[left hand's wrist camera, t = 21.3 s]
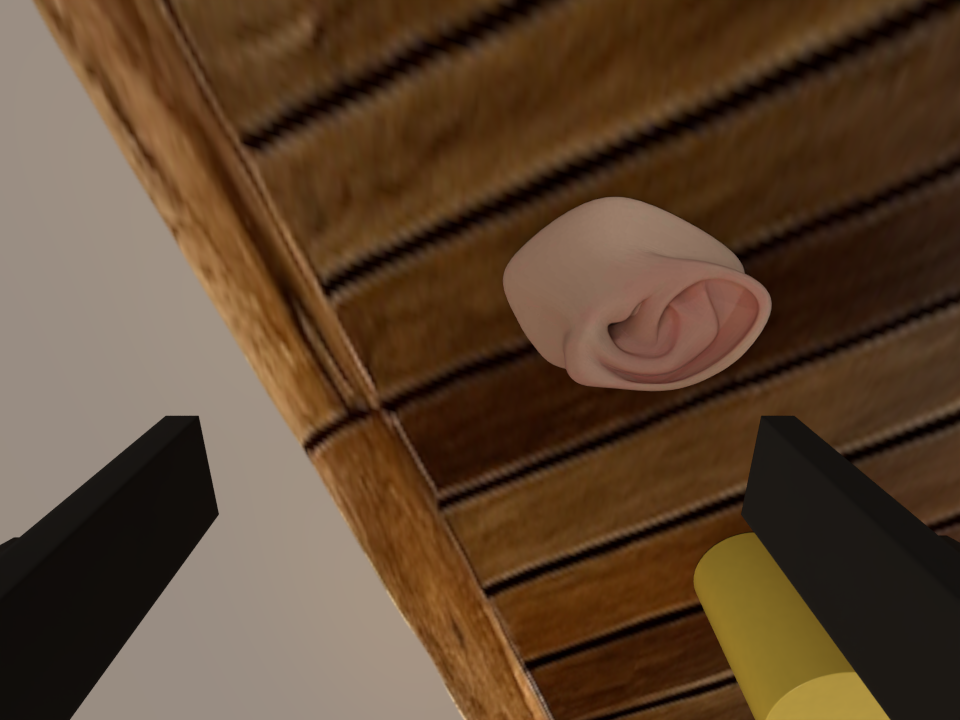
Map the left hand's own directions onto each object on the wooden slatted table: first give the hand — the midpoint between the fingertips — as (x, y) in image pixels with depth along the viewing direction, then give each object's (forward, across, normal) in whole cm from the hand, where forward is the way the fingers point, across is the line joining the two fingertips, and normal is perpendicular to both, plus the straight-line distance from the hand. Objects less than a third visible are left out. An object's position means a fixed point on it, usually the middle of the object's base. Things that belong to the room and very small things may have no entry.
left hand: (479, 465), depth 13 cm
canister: (+21, +20, -22) cm, 36 cm away
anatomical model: (+21, +8, -1) cm, 22 cm away
